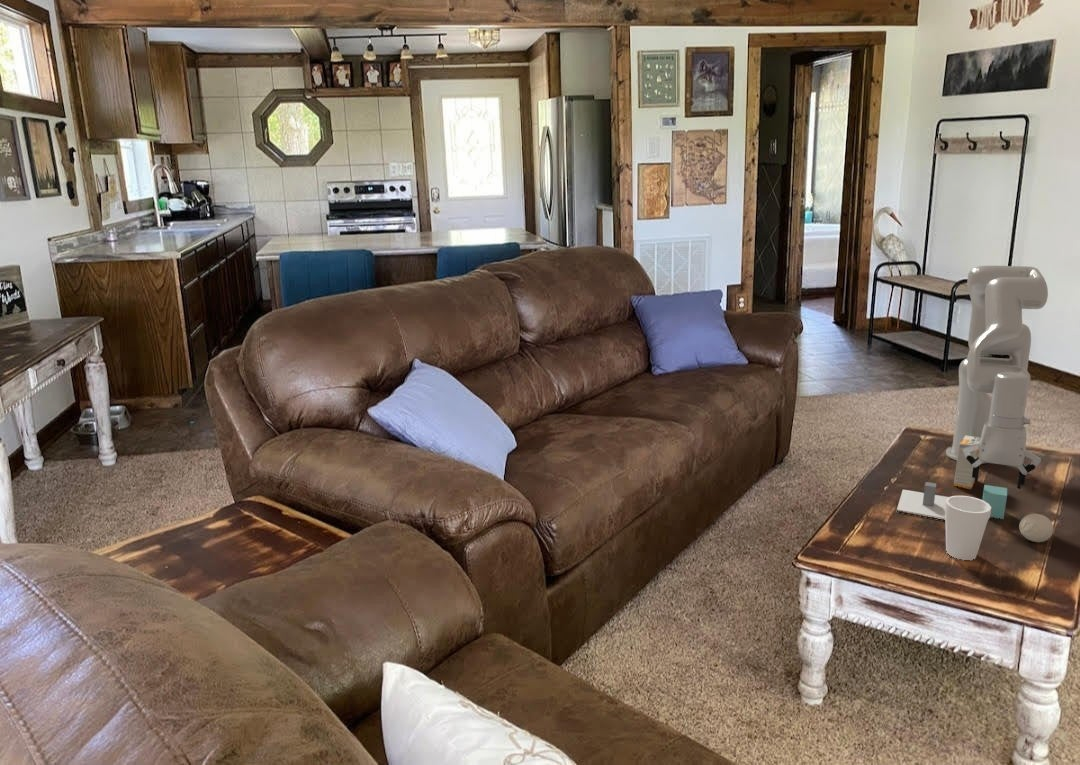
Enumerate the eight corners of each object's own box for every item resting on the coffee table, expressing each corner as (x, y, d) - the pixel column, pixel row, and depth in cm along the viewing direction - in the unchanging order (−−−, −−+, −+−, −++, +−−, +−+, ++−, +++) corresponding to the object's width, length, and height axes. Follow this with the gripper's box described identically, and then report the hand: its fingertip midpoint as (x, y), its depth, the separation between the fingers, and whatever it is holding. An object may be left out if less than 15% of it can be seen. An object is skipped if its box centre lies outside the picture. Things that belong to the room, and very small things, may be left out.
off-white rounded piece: (1010, 537, 194) (1013, 512, 192) (1031, 531, 197) (1035, 507, 195) (1035, 549, 188) (1039, 524, 186) (1057, 543, 190) (1061, 518, 189)
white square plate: (902, 492, 220) (904, 470, 219) (958, 501, 214) (961, 479, 212) (896, 512, 209) (899, 489, 207) (955, 522, 202) (958, 499, 200)
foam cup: (944, 540, 193) (951, 492, 190) (987, 551, 188) (994, 502, 184) (934, 556, 186) (941, 506, 183) (978, 568, 181) (985, 516, 177)
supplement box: (972, 490, 220) (978, 446, 217) (953, 486, 223) (958, 443, 219) (977, 480, 227) (983, 437, 223) (958, 476, 229) (964, 434, 226)
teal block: (981, 507, 210) (984, 484, 208) (1003, 511, 207) (1007, 488, 206) (980, 515, 206) (983, 492, 204) (1003, 519, 203) (1007, 495, 201)
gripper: (1045, 421, 198) (1035, 484, 202) (967, 412, 206) (960, 473, 211) (1046, 430, 192) (1036, 495, 196) (966, 420, 200) (958, 483, 205)
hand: (997, 483), depth 203 cm, fingers open, 9 cm apart
